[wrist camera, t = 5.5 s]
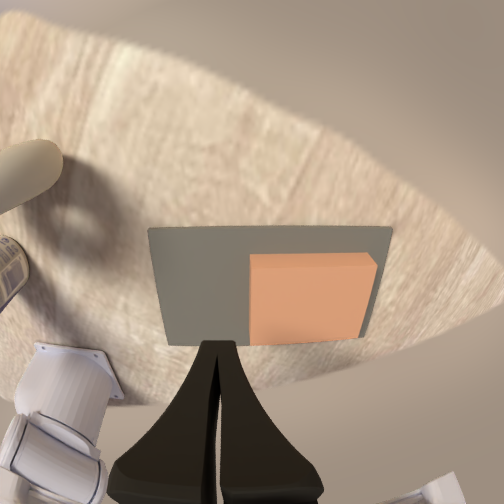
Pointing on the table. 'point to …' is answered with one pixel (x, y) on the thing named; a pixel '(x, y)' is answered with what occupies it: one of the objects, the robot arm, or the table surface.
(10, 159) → the donut
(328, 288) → the tile
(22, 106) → the table surface
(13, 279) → the energy drink
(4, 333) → the table surface
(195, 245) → the mat
